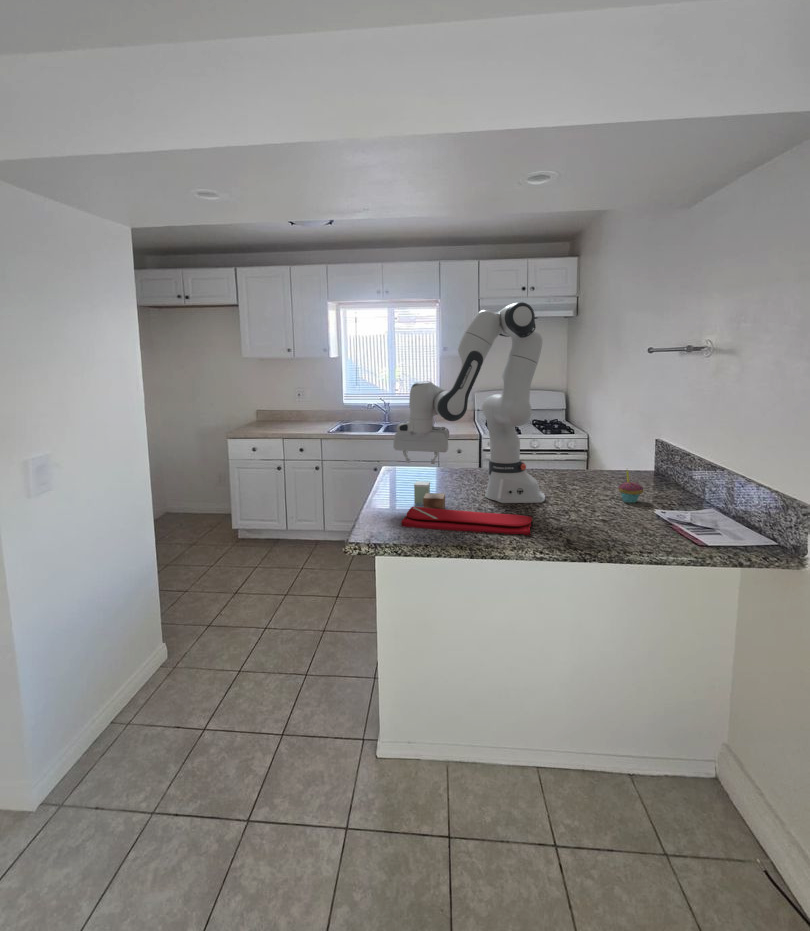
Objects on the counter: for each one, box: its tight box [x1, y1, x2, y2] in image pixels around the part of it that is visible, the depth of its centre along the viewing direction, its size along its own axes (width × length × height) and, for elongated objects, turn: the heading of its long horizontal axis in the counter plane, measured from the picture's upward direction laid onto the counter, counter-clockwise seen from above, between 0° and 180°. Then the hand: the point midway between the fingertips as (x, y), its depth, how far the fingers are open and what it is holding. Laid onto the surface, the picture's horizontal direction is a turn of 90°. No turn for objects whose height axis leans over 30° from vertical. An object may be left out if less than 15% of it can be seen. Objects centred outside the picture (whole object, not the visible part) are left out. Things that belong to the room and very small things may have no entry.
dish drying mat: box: [400, 506, 533, 536], centre depth 181 cm, size 16×41×4 cm, turn 75°
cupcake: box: [618, 469, 644, 504], centre depth 204 cm, size 9×8×12 cm
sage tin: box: [413, 480, 431, 504], centre depth 208 cm, size 5×5×7 cm
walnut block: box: [422, 492, 446, 509], centre depth 199 cm, size 7×7×5 cm
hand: (420, 463), depth 206 cm, fingers open, 8 cm apart
